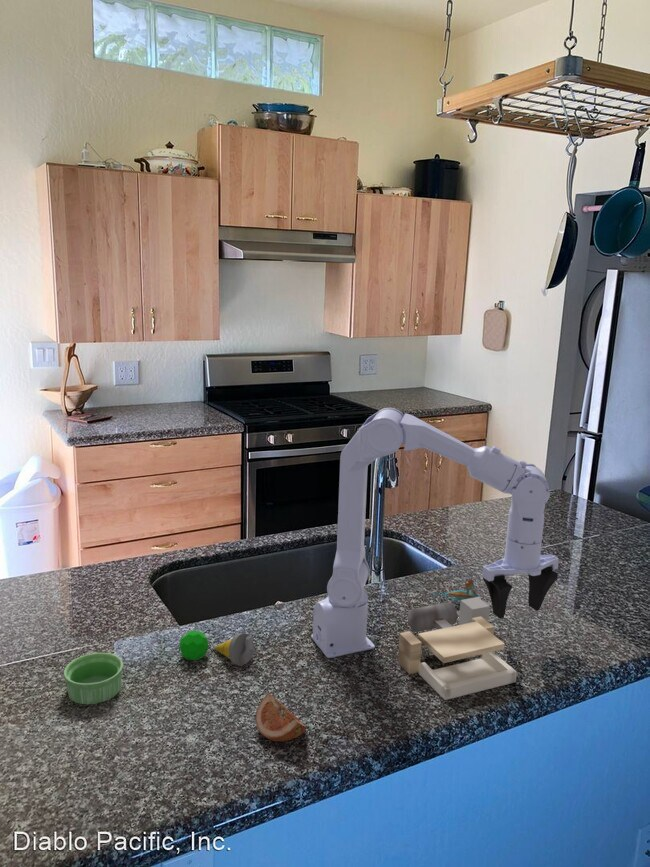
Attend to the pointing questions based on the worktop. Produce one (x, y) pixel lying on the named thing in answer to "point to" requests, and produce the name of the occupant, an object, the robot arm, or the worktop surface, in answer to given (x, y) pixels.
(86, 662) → the ramekin
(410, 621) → the trapdoor
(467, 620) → the grey rectangular block
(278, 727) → the fruit slice
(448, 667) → the tray
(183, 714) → the worktop surface
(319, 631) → the robot arm
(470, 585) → the dragon figurine
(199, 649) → the polyhedron
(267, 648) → the worktop surface
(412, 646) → the trapdoor posts
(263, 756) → the worktop surface
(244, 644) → the ice cream cone
